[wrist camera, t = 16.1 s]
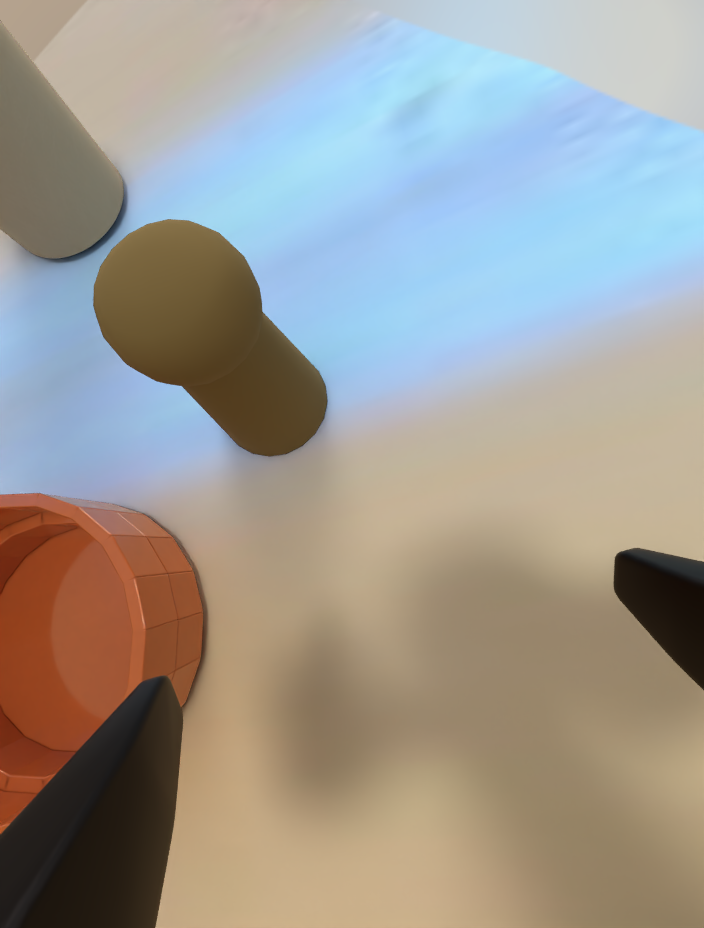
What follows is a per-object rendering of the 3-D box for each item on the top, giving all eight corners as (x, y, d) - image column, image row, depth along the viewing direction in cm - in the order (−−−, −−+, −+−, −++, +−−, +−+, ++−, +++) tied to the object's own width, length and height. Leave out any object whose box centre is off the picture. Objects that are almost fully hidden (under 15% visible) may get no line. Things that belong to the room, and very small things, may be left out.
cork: (279, 478, 22) (151, 411, 11) (200, 414, 23) (17, 299, 12) (349, 390, 22) (292, 242, 11) (267, 332, 23) (148, 152, 13)
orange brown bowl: (255, 664, 20) (206, 702, 15) (39, 833, 20) (-82, 926, 15) (129, 457, 23) (54, 434, 18) (-59, 602, 23) (-185, 616, 18)
